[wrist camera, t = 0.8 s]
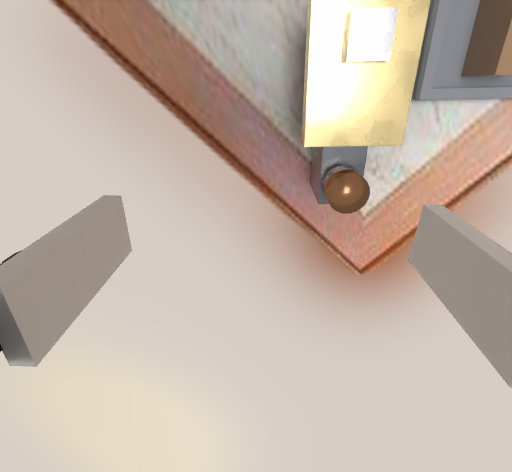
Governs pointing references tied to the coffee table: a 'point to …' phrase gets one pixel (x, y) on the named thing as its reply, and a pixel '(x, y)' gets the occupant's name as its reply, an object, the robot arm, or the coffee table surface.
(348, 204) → the plane
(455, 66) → the tray
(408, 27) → the lever cap
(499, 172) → the coffee table surface
